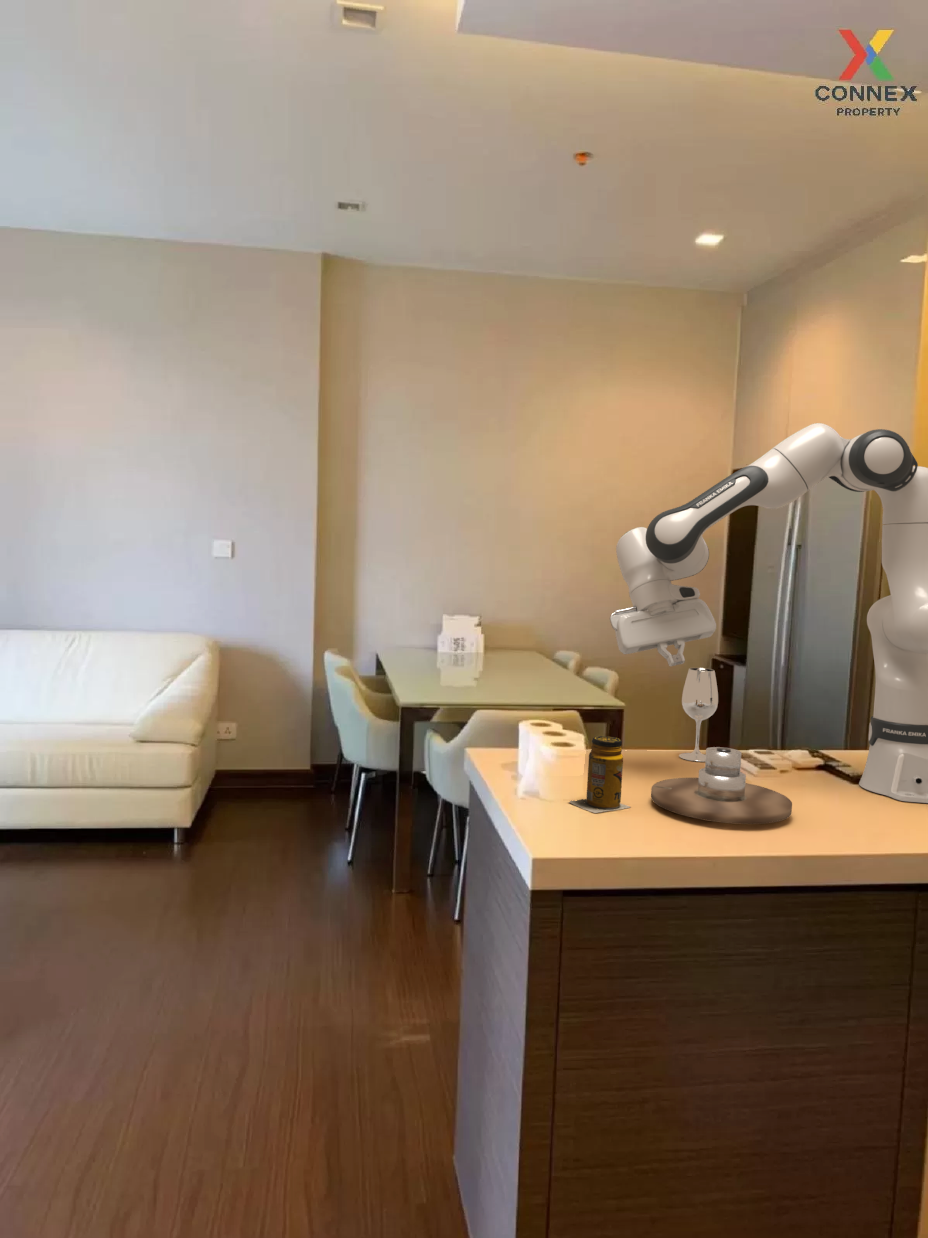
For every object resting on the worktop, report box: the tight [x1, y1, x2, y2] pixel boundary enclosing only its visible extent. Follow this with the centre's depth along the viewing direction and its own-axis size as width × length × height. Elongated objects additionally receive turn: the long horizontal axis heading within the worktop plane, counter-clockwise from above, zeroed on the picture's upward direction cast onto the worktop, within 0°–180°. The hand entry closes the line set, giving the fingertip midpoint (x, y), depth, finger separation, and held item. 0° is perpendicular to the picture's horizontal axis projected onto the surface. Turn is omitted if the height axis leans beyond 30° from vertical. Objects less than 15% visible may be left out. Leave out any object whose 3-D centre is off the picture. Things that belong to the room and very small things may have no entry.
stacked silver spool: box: [698, 746, 747, 802], centre depth 156 cm, size 8×8×8 cm
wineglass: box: [678, 667, 719, 763], centre depth 196 cm, size 8×8×20 cm
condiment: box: [569, 735, 631, 814], centre depth 156 cm, size 7×8×12 cm
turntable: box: [650, 777, 793, 825], centre depth 157 cm, size 24×24×2 cm
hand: (677, 664), depth 175 cm, fingers closed
